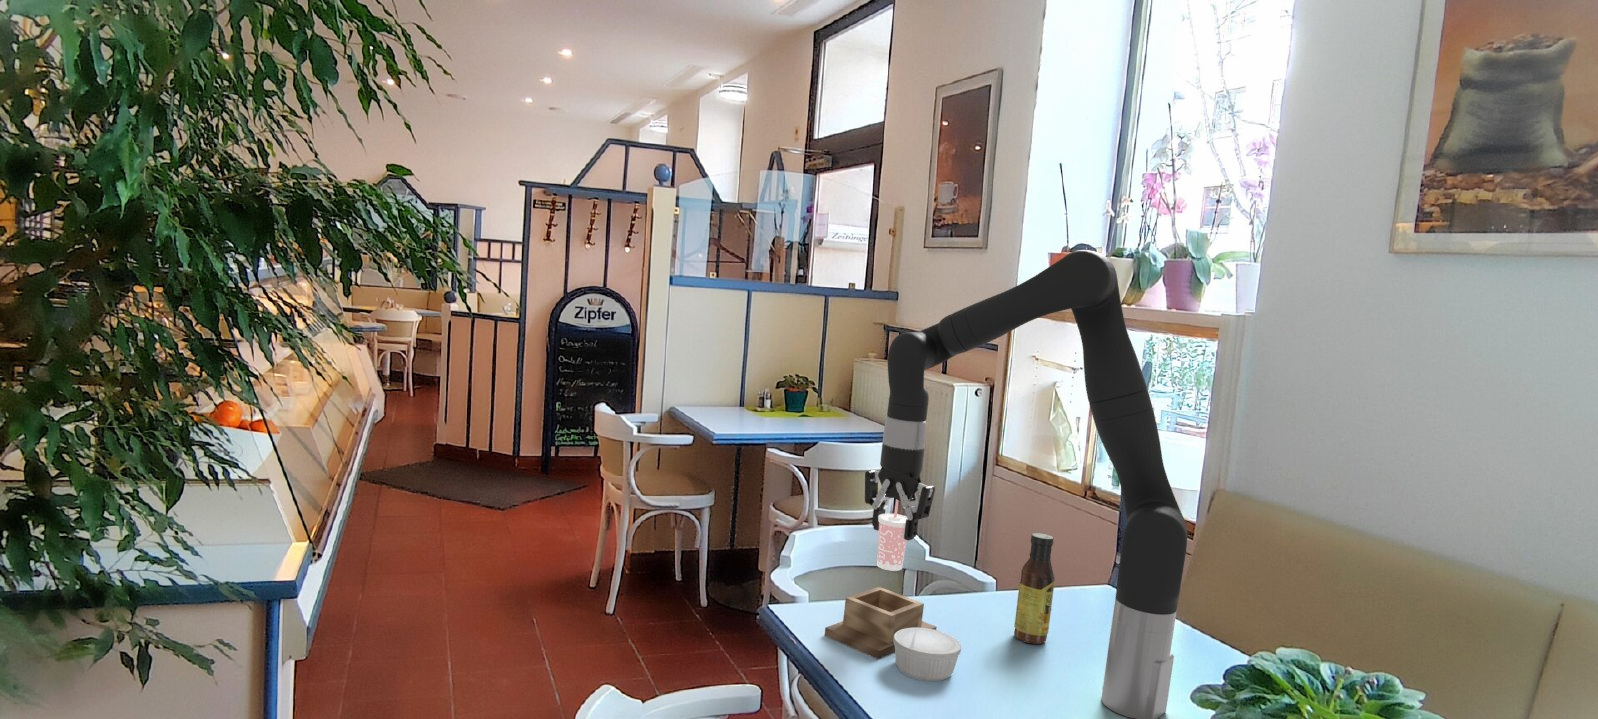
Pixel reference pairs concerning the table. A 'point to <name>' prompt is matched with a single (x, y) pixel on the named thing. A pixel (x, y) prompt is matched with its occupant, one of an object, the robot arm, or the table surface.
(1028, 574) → the sauce bottle
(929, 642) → the ramekin
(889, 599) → the cup holder
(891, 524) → the beverage cup
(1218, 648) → the table surface
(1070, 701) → the table surface
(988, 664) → the table surface
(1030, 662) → the table surface
